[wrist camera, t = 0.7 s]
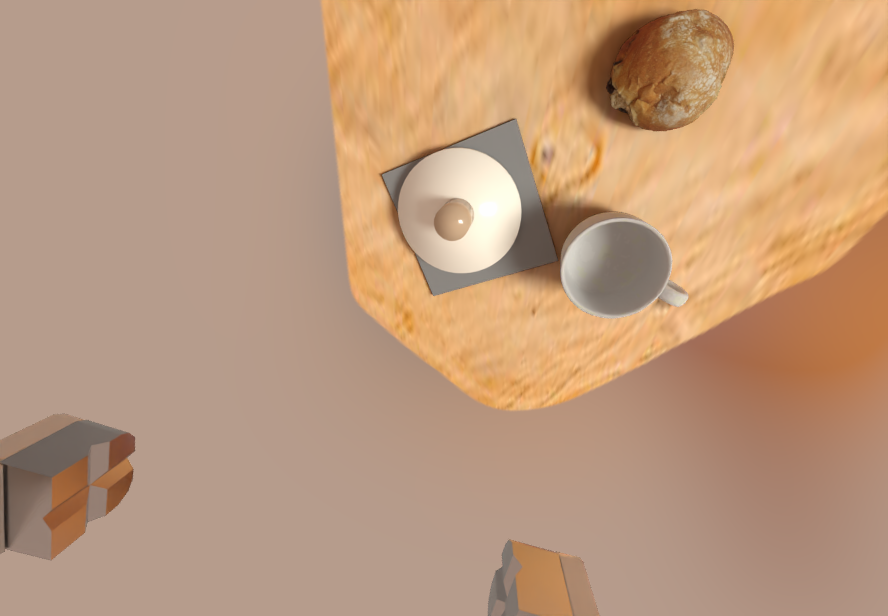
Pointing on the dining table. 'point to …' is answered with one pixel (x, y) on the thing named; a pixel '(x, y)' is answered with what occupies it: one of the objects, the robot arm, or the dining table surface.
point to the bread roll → (671, 69)
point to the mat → (533, 232)
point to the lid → (459, 210)
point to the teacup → (617, 266)
